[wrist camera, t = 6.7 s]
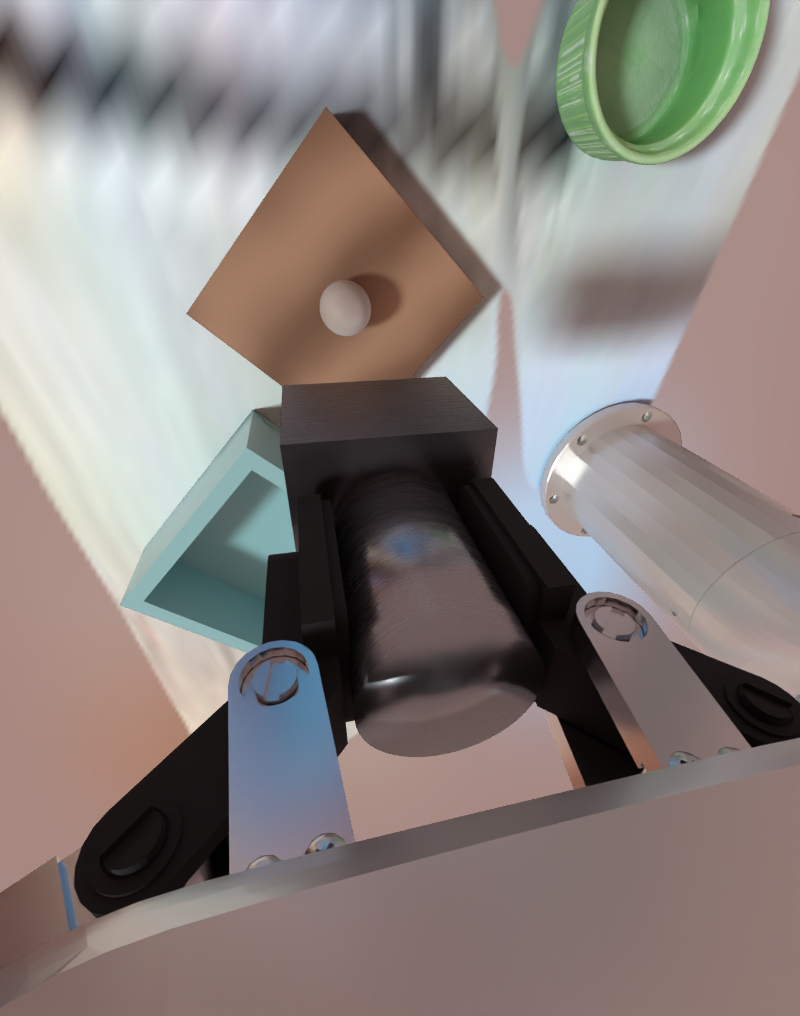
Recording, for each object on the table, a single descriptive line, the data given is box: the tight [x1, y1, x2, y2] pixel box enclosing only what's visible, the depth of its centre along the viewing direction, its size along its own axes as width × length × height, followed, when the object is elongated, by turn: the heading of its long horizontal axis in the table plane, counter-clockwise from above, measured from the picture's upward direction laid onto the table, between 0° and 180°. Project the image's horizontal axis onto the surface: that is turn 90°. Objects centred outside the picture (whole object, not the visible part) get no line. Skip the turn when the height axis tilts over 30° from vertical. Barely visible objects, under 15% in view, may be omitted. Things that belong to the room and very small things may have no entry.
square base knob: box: [280, 377, 544, 757], centre depth 11 cm, size 5×5×9 cm
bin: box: [120, 410, 296, 653], centre depth 32 cm, size 14×14×6 cm
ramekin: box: [556, 0, 771, 165], centre depth 22 cm, size 9×9×4 cm
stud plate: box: [187, 107, 483, 386], centre depth 25 cm, size 12×12×5 cm
